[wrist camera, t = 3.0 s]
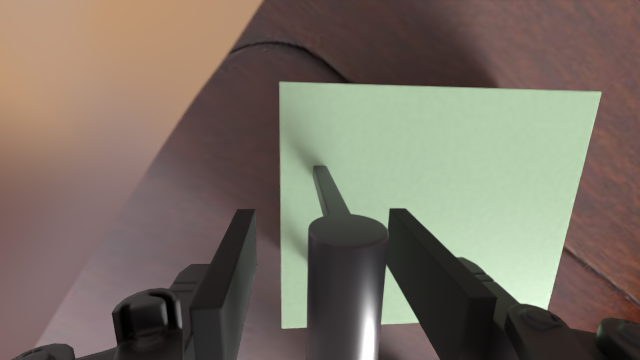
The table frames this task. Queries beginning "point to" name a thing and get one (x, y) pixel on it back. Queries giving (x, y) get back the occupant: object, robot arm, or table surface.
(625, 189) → the table surface
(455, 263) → the robot arm
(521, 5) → the table surface
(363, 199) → the lunchbox lid
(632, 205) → the table surface
